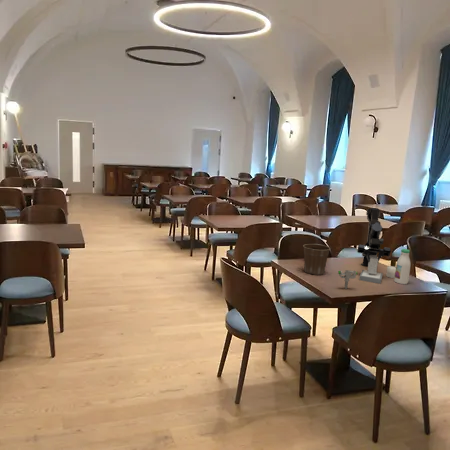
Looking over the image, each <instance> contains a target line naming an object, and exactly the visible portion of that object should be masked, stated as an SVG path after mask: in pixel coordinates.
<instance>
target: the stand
mask: <svg viewBox="0 0 450 450" xmlns="http://www.w3.org/2000/svg"><path fill="white" fill-rule="evenodd" d="M383 274H384V273H383V272H378V271H377V272H376V274H371V273H368V269H362V270H361V271H360V274H359V279H358V280H359V281H363V282H368V283H373V284H374V283H375V284H380V285H381V283H382V279H383Z"/></svg>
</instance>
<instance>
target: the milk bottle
mask: <svg viewBox="0 0 450 450" xmlns="http://www.w3.org/2000/svg"><path fill="white" fill-rule="evenodd" d="M410 252H411V251H410V249H406V248H401V250H400V256H399V258H397V261H396V266H395V267H396V271H395V278H393V280H394V281H393V282H394V283H397V284H399V285H400V284H401V285H407V284H409V278H410V272H411V259H410Z"/></svg>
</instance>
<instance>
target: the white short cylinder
mask: <svg viewBox="0 0 450 450" xmlns="http://www.w3.org/2000/svg"><path fill="white" fill-rule="evenodd" d="M395 271H396V266H394V265H393V266H392V265H387V267H386V274H385V277H387V278H390V279H394V278H395Z"/></svg>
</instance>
